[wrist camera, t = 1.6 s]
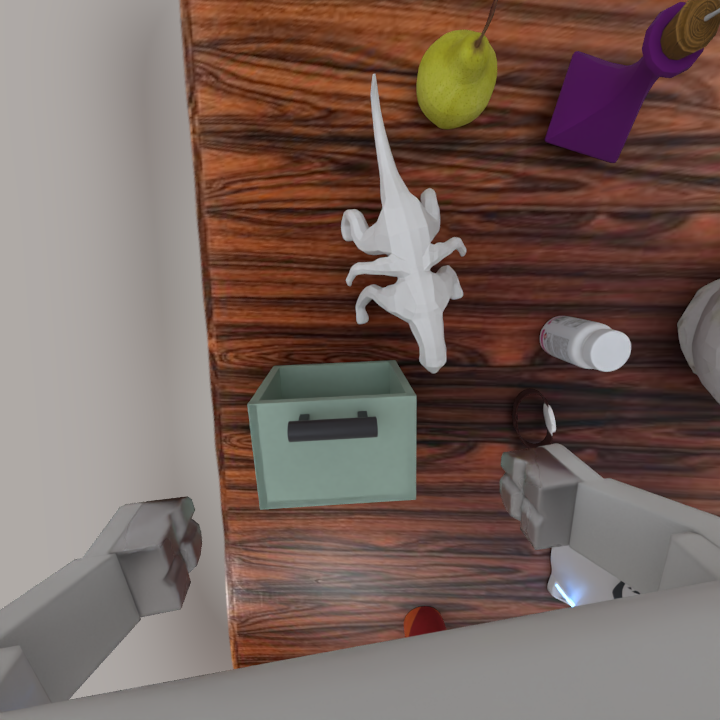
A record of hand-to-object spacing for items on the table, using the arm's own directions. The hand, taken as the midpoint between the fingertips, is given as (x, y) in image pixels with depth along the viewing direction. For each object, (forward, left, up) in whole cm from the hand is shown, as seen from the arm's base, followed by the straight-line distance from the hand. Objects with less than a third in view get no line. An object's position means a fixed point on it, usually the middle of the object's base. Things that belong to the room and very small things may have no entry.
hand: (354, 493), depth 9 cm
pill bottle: (-20, -16, -32) cm, 41 cm away
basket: (-6, +8, -32) cm, 33 cm away
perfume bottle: (-4, -31, -32) cm, 44 cm away
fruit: (+7, -23, -32) cm, 40 cm away
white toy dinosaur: (+1, -10, -32) cm, 33 cm away
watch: (-25, -7, -32) cm, 41 cm away
